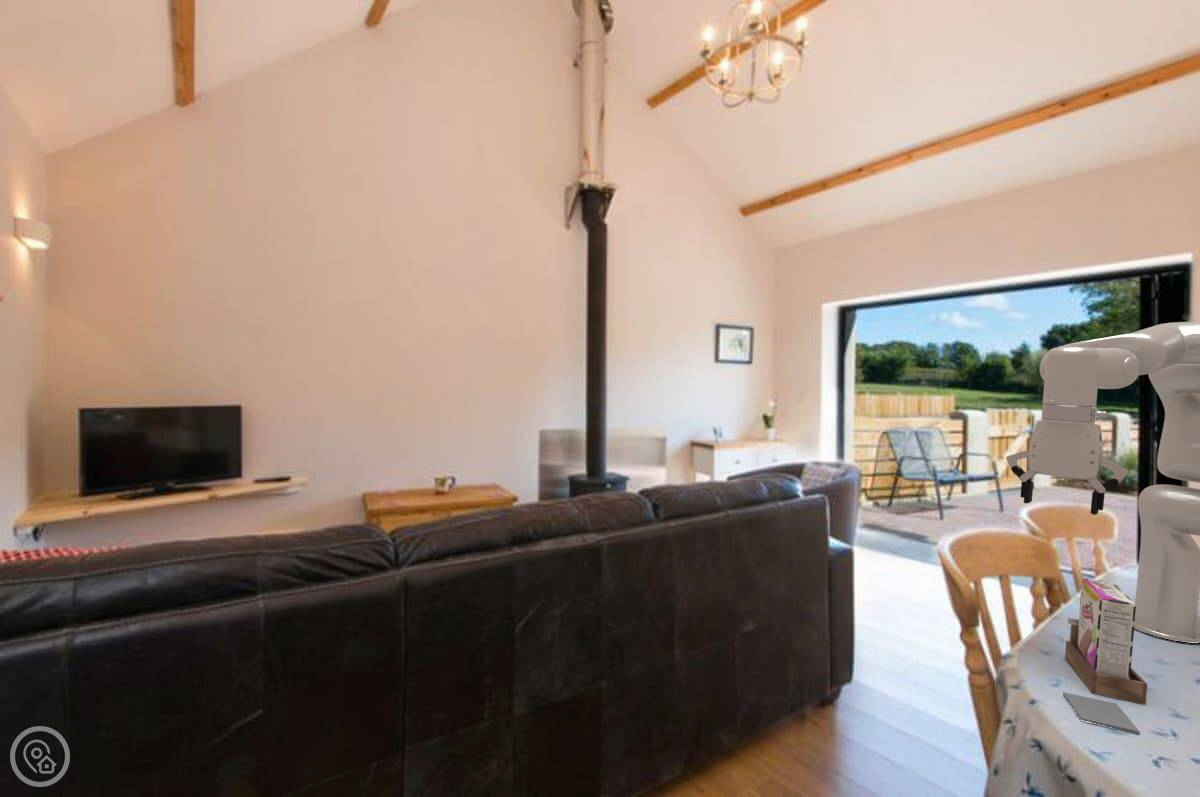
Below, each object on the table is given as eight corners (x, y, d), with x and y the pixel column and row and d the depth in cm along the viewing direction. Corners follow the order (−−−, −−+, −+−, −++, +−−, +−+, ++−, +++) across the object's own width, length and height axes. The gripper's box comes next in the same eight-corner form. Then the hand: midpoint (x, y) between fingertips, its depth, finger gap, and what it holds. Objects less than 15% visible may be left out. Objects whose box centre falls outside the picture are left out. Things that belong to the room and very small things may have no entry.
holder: (1111, 667, 105) (1115, 625, 104) (1145, 704, 93) (1150, 657, 93) (1064, 658, 108) (1068, 617, 107) (1091, 693, 96) (1096, 647, 95)
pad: (1116, 706, 92) (1116, 703, 92) (1139, 734, 85) (1139, 731, 85) (1062, 694, 95) (1063, 692, 95) (1081, 721, 88) (1081, 718, 88)
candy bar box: (1073, 661, 107) (1080, 576, 106) (1107, 669, 104) (1115, 582, 103) (1091, 690, 97) (1099, 597, 96) (1130, 699, 94) (1138, 603, 93)
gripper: (1135, 418, 99) (1126, 515, 100) (1015, 410, 112) (1008, 496, 113) (1130, 420, 94) (1121, 521, 95) (1005, 411, 107) (998, 501, 108)
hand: (1059, 507), depth 104 cm, fingers open, 9 cm apart
